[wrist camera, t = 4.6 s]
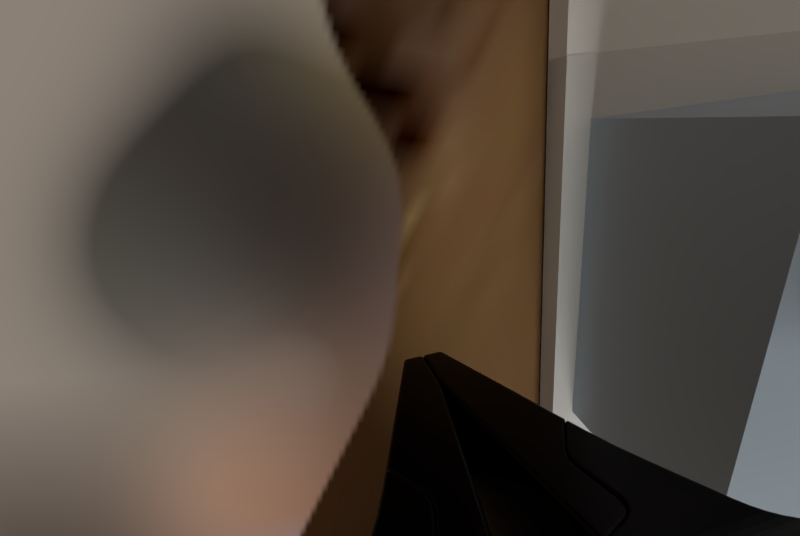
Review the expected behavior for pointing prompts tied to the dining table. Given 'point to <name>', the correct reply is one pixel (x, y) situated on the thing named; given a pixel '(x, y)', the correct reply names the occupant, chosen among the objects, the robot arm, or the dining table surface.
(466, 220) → the dining table surface
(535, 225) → the dining table surface
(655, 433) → the slate block
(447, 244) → the dining table surface
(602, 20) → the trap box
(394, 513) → the robot arm
